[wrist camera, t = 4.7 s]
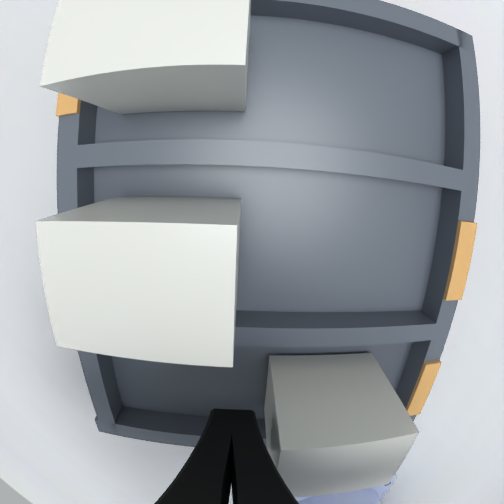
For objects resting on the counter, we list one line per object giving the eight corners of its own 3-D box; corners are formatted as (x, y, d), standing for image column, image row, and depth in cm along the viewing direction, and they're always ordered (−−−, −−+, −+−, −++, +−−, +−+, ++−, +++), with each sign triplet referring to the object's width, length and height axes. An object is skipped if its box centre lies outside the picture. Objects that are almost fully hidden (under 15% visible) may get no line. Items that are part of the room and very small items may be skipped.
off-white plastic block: (245, 111, 9) (245, 64, 4) (120, 114, 9) (39, 86, 4) (249, 32, 8) (253, -51, 4) (129, 38, 8) (67, -24, 4)
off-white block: (237, 285, 10) (232, 367, 6) (121, 278, 10) (56, 345, 6) (241, 198, 9) (237, 225, 5) (117, 196, 9) (35, 221, 5)
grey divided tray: (390, 403, 14) (408, 437, 11) (114, 399, 13) (97, 434, 11) (440, 51, 9) (475, 34, 7) (101, 24, 9) (73, -1, 6)
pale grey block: (356, 405, 12) (388, 483, 7) (263, 409, 12) (270, 498, 7) (371, 352, 11) (419, 432, 7) (269, 355, 11) (281, 449, 7)
